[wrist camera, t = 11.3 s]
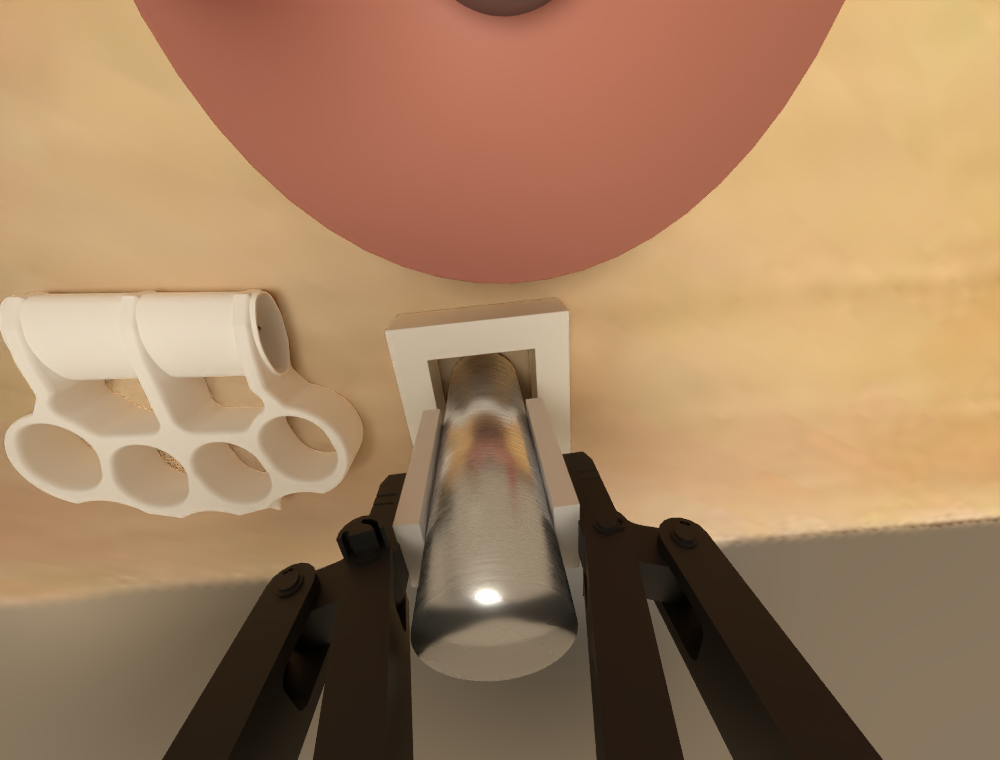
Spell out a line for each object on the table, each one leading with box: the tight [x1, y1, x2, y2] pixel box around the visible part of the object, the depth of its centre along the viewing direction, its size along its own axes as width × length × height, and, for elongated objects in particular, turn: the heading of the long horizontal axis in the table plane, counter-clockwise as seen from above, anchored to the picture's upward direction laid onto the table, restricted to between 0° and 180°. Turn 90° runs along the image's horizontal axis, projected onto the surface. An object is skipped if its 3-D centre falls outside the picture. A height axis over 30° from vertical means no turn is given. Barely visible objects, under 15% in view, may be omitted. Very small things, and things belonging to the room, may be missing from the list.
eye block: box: [385, 298, 571, 454], centre depth 20 cm, size 9×9×3 cm
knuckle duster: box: [0, 289, 363, 518], centre depth 21 cm, size 3×18×15 cm
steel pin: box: [411, 353, 578, 681], centre depth 15 cm, size 4×4×14 cm
